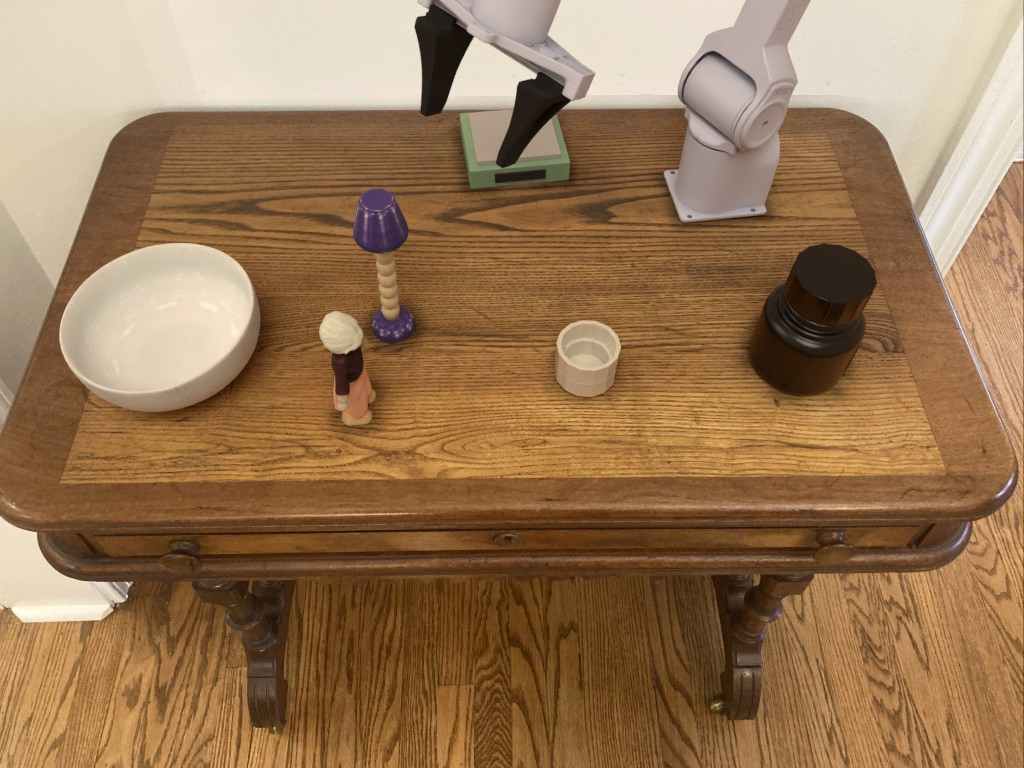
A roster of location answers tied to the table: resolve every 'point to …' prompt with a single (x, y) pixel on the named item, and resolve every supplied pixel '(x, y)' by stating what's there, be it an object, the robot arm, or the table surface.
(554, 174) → the scale
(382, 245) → the toy lamp
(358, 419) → the grandmother figurine
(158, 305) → the cereal bowl
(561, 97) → the robot arm
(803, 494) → the table surface
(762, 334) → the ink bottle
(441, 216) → the table surface
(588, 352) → the white cup
